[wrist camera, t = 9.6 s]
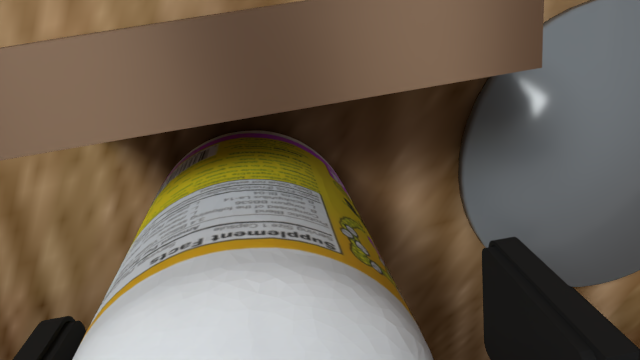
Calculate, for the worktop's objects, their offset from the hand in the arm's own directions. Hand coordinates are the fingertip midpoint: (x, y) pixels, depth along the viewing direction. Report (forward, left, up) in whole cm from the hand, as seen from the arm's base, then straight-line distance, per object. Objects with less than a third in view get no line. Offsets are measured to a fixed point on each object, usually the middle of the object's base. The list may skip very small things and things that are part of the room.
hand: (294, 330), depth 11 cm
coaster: (+12, 0, -6) cm, 14 cm away
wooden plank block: (0, +6, -6) cm, 9 cm away
